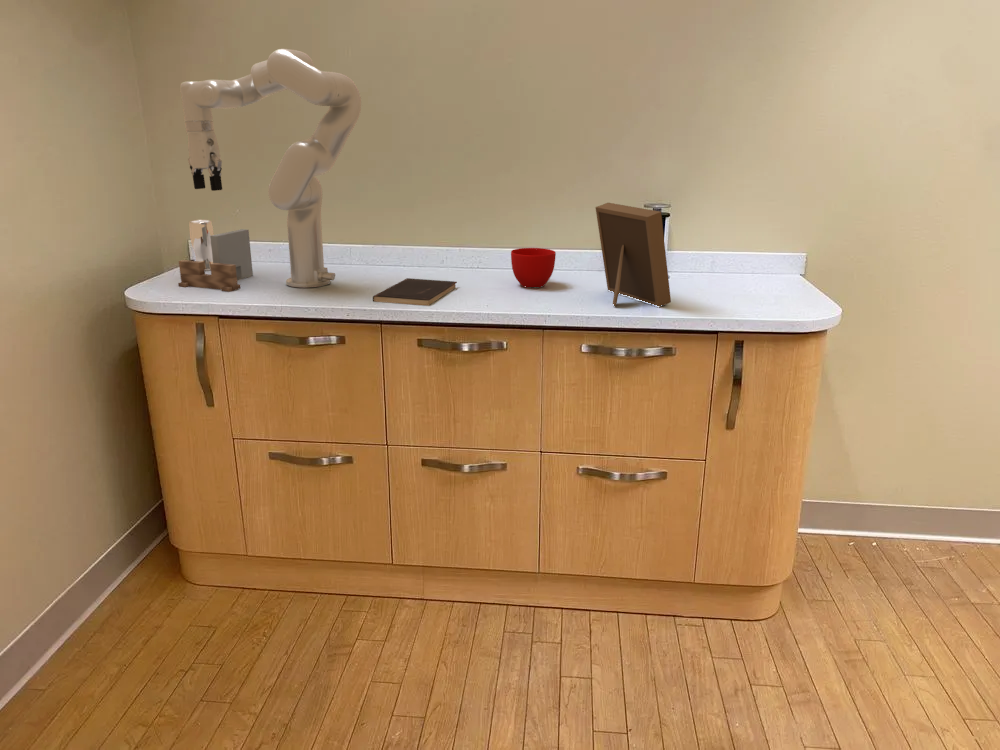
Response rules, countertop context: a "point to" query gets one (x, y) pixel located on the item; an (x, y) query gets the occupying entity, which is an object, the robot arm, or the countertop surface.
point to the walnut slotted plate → (208, 275)
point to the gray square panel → (233, 251)
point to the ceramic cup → (533, 265)
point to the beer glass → (202, 241)
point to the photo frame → (634, 252)
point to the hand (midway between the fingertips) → (208, 189)
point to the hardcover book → (415, 291)
